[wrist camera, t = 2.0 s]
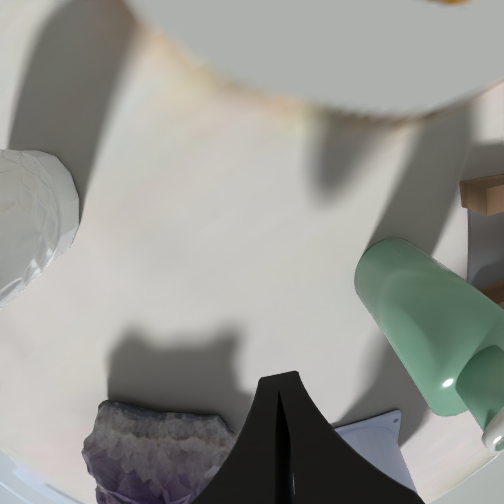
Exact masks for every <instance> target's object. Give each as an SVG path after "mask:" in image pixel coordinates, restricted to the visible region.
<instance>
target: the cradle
mask: <svg viewBox="0 0 504 504" xmlns="http://www.w3.org/2000/svg"><path fill="white" fill-rule="evenodd" d="M460 188H461V202H462V207H464V208H467V209H468V273H467V282H468V283H469V284H471V285H472V286H473V287H475V288H476V289H477V290H479V291H480V292H481V293H483V294H484V295H485V296H487V297H488V298H489V299H490V300H492V301H493V302H494V303H496V304H497V305H498V306H499V307H501V308H502V309H503V310H504V174H501V175H496V176H490V177H485V178H479V179H474V180H468V181H463V182H460Z"/></svg>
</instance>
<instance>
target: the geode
mask: <svg viewBox="0 0 504 504" xmlns="http://www.w3.org/2000/svg"><path fill="white" fill-rule="evenodd" d="M237 439H238V437H237V436H236V434H235V433H234V432H232V431H230V430H229V428H228V427H227V425H226V423H225V422H224V420H223V419H222V418H221V416H219V415H198V414H191V413H172V412H170V413H161V412H156V411H153V410H150V409H142V408H139V407H136V406H133V405H130V404H127V403H124V402H119V401H112V400H105V401H103V402H102V403H101V404H100V405H99V407H98V414H97V418H96V420H95V424H94V429H93V432H92V433H91V434H90V435H89V436H88V437H87V438H86V439H85V440H84V448H83V450H82V455H83V458H84V460H85V463H86V464H87V469H88V472H89V474H90V475H92V476H93V477H94V478H95V480H96V483H97V488H96V489H95V490H96V499H97V503H98V504H190V503H191V502H192V501H193V500H194V499H195V498H196V497H197V496H198V495H199V494H200V493H201V492H202V490H203V489H204V488H205V487H206V486H207V485H208V483H209V482H210V481H211V480H212V478H213V477H214V476H215V474H216V473H217V471H218V470H219V469H220V467H221V466H222V464H223V463H224V461H225V460H226V458H227V457H228V455H229V453H230V452H231V450H232V448H233V446H234V444H235V443H236V441H237Z"/></svg>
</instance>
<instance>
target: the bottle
mask: <svg viewBox="0 0 504 504" xmlns="http://www.w3.org/2000/svg"><path fill="white" fill-rule="evenodd" d="M354 282H355V289H356V292H357V295H358V296H359V298H360V299H361V301H362V302H363V304H364V305H365V307H366V308H367V310H368V311H369V313H370V314H371V316H372V317H373V319H374V320H375V322H376V323H377V325H378V326H379V328H380V329H381V331H382V332H383V334H384V335H385V337H386V338H387V340H388V341H389V343H390V344H391V346H392V347H393V349H394V351H395V352H396V354H397V355H398V357H399V358H400V360H401V362H402V363H403V365H404V366H405V368H406V370H407V371H408V373H409V374H410V376H411V378H412V379H413V381H414V382H415V384H416V386H417V387H418V389H419V391H420V392H421V394H422V396H423V397H424V399H425V401H426V402H427V404H428V406H429V407H430V409H431V411H432V412H433V413H434V414H436V415H438V416H446V417H447V416H453V415H457V414H460V413H463V412H465V411H467V410H469V411H470V412H471V414H472V415H473V417H474V418H475V420H476V421H477V423H478V424H479V426H480V427H481V429H482V430H483V432H484V433H483V435H482V442H483V444H484V446H485V447H486V449H487V451H488V452H489V454H490V455H491V456H494V455H498V454H500V453H502V452H504V310H503V309H502V308H501V307H499V306H498V305H497V304H496V303H494V302H493V301H492V300H490V299H489V298H488V297H487V296H485V295H484V294H483V293H481V292H480V291H479V290H477V289H476V288H475V287H473V286H472V285H471V284H469V283H468V282H467V281H465V280H464V279H462V278H461V277H460V276H458V275H457V274H455V273H454V272H453V271H451V270H450V269H448V268H447V267H445V266H444V265H443V264H441V263H440V262H438V261H437V260H435V259H434V258H432V257H431V256H429V255H428V254H426V253H425V252H423V251H422V250H420V249H419V248H417V247H416V246H414V245H413V244H411V243H410V242H408V241H406V240H404V239H400V238H389V239H385V240H382V241H380V242H378V243H376V244H374V245H373V246H372V247H371V248H369V249H368V250H367V251H366V252H365V254H364V255H363V256H362V258H361V259H360V261H359V263H358V265H357V268H356V272H355V279H354Z"/></svg>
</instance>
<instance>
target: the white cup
mask: <svg viewBox="0 0 504 504" xmlns="http://www.w3.org/2000/svg"><path fill="white" fill-rule="evenodd" d="M78 226H79V197H78V194H77V191H76V188H75V185H74V182H73V179H72V175H71V173H70V172H69V171H68V170H67V169H66V168H65V166H64V165H63V164H62V163H61V162H60V160H59V159H58V158H57V157H56V156H53V155H50V154H47V153H44V152H41V151H38V150H27V151H17V150H8V149H0V310H1V309H2V308H4V307H5V306H6V305H7V304H8V303H9V302H10V301H11V300H13V299H14V298H15V297H16V296H17V295H18V294H19V293H20V292H22V291H23V290H24V289H25V288H26V287H27V286H28V285H29V284H30V283H31V282H32V281H33V280H34V279H36V278H37V277H38V276H39V275H40V274H41V273H42V272H43V270H44V269H45V268H46V267H47V266H48V265H49V264H51V263H52V262H53V261H54V260H56V259H57V258H58V257H59V256H60V255H62V254H63V253H64V252H65V251H66V250H68V249H69V248H70V246H71V244H72V241H73V239H74V236H75V234H76V231H77V229H78Z"/></svg>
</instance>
